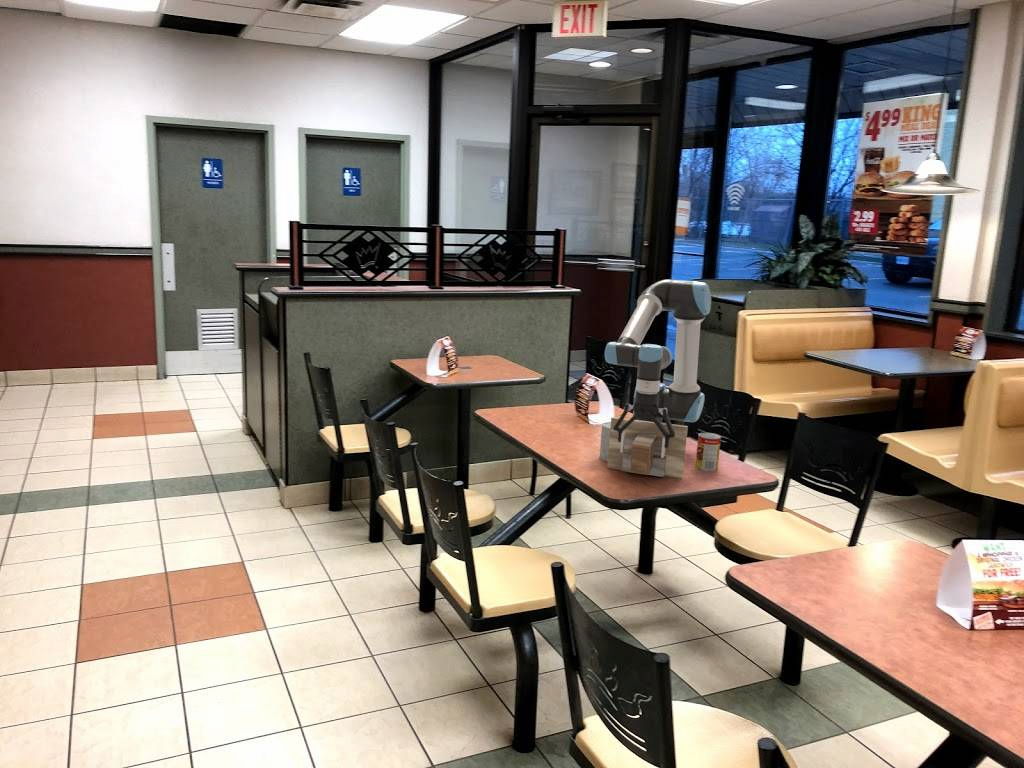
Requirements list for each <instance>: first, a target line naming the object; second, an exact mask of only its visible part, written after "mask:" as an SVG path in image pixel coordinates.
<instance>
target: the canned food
mask: <svg viewBox="0 0 1024 768" xmlns="http://www.w3.org/2000/svg"><path fill="white" fill-rule="evenodd" d="M721 439H722V436H721V435H720V434H717V433H713V432H700V433H698V435H697V444H696V455H695V465H694V467H695V468H696V469H697V470H701V471H705V472H716V471H718V469H719V458H720V451H721V449H720V448H721Z"/></svg>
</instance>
